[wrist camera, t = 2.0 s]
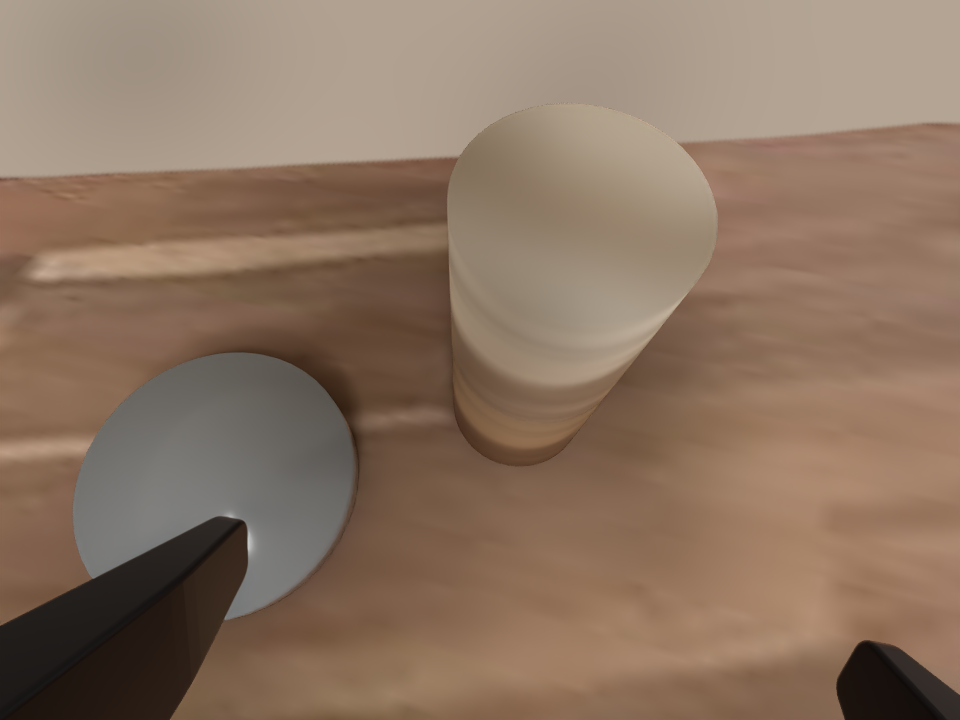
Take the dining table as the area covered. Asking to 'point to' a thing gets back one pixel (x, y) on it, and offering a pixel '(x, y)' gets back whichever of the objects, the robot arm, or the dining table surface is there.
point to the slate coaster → (222, 471)
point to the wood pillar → (564, 267)
